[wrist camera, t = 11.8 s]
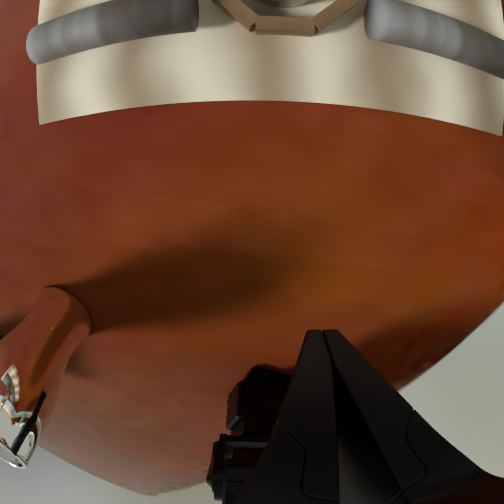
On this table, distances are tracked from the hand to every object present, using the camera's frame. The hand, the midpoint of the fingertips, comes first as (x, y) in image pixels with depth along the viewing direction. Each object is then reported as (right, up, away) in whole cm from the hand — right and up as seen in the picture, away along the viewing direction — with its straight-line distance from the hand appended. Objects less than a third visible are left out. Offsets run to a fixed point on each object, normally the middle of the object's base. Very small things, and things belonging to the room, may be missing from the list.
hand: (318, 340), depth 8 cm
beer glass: (-19, -3, +17) cm, 26 cm away
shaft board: (0, +17, +6) cm, 18 cm away
